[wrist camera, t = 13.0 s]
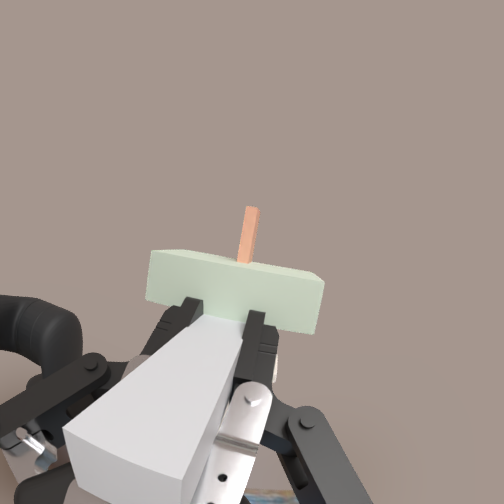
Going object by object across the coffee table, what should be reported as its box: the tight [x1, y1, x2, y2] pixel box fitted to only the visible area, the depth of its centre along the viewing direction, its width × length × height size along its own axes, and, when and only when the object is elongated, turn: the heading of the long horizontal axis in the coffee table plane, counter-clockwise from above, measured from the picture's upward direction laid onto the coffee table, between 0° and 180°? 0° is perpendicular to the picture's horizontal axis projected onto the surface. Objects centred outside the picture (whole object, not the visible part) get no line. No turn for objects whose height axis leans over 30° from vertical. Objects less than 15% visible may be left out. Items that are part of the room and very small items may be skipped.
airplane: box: [62, 206, 325, 504], centre depth 10 cm, size 8×14×7 cm, turn 174°
